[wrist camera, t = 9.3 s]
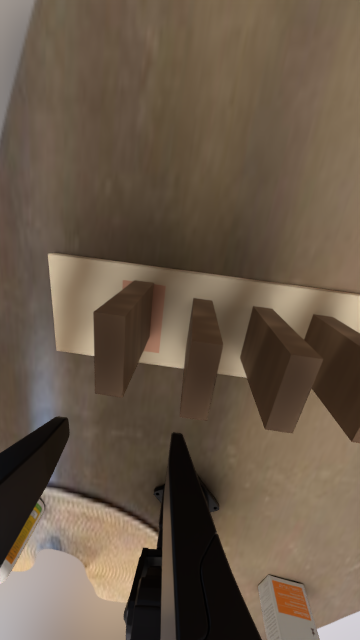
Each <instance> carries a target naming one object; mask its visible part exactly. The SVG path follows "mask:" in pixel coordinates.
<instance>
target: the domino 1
mask: <svg viewBox="0 0 360 640" xmlns="http://www.w3.org/2000/svg"><path fill="white" fill-rule="evenodd" d="M153 288H154V283H152V282H144V281H137V280H134V281H133V282H132V283H130V284H129V285H128V286H126V287H125V288H124V289H123V290H121V291H120V292H119V293H117V294H116V295H115V296H113V297H112V298H111V299H110V300H108V301H107V302H106V303H104V304H103V305H102V306H100V307H99V308H98V309H97V310H95V311H94V312H93V321H94V366H95V394H102V395H108V396H115V397H122V398H123V396H124V393H125V391H126V389H127V387H128V384H129V382H130V380H131V378H132V375H133V373H134V371H135V369H136V366H137V364H138V362H139V360H140V358H141V355H142V353H143V351H144V349H145V346H146V344H147V342H148V340H149V337H150V326H151V313H152V300H153Z"/></svg>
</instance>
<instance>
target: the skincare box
mask: <svg viewBox="0 0 360 640" xmlns="http://www.w3.org/2000/svg"><path fill="white" fill-rule="evenodd" d="M258 590H259V596H260V602H261V608H262V614H263V619H264V625H265V631H266V637H267V640H320V639H319V635H318V632H317V629H316V626H315V622H314V619H313V615H312V612H311V609H310V605H309V602H308V599H307V596H306V592H305V589H304V586H303V584H298V583H295V582H291V581H288V580H284V579H280V578H277V577H274V576H271V575H267V577H266V578H265V579H264V580H263V581H262V582H261V583H260V584H259V586H258Z"/></svg>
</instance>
